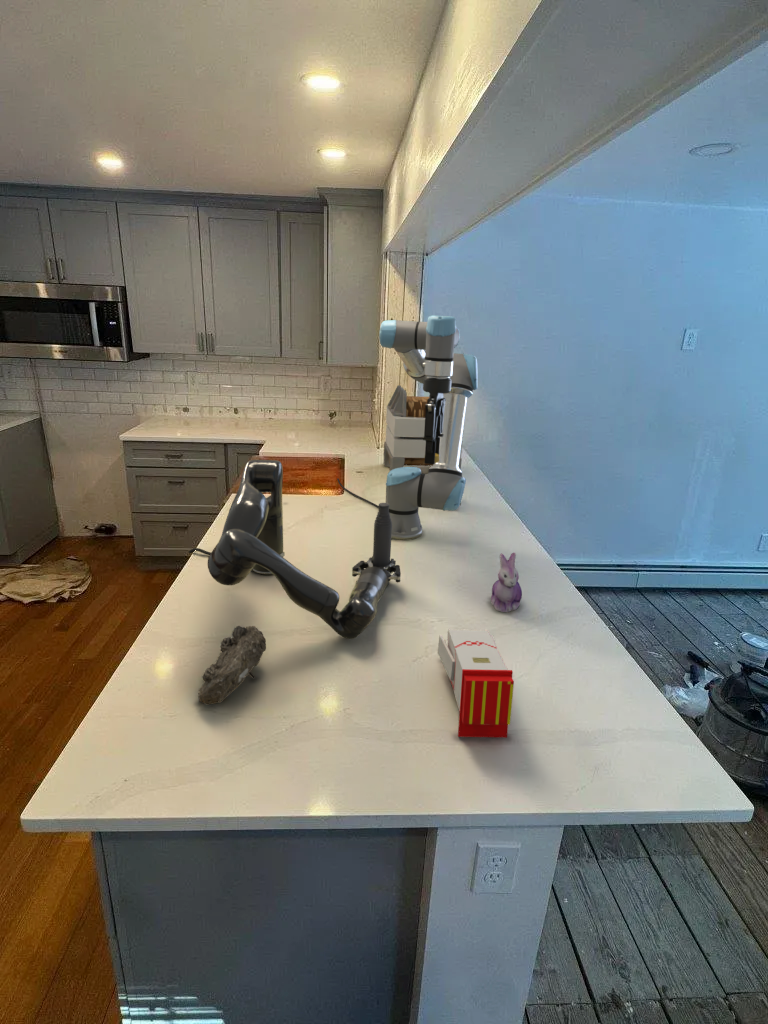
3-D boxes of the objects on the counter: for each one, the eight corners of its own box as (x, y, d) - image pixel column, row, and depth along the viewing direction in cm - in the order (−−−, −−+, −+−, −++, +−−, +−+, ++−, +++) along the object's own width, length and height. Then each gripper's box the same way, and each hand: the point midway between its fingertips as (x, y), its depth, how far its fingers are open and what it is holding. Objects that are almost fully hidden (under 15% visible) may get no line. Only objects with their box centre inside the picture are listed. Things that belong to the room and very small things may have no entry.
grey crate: (382, 463, 289) (386, 382, 275) (445, 464, 293) (451, 384, 279) (390, 482, 257) (394, 392, 243) (460, 483, 261) (468, 394, 247)
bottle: (369, 580, 165) (372, 502, 157) (384, 578, 167) (388, 500, 159) (375, 588, 161) (379, 508, 152) (391, 585, 163) (395, 506, 154)
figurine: (503, 617, 148) (510, 564, 143) (480, 599, 156) (486, 549, 151) (531, 609, 152) (539, 558, 147) (507, 593, 161) (513, 544, 156)
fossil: (217, 628, 129) (265, 598, 124) (246, 656, 132) (293, 628, 127) (177, 698, 110) (231, 666, 105) (211, 729, 113) (266, 699, 108)
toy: (488, 613, 130) (523, 677, 101) (484, 667, 133) (517, 744, 104) (435, 612, 130) (455, 676, 101) (432, 666, 133) (451, 743, 103)
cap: (436, 463, 157) (436, 457, 156) (422, 461, 158) (422, 455, 158) (441, 460, 161) (441, 453, 160) (427, 458, 162) (427, 451, 161)
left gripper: (343, 595, 151) (358, 568, 167) (396, 602, 148) (406, 575, 164) (344, 570, 148) (359, 545, 164) (397, 577, 146) (408, 551, 162)
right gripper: (432, 372, 160) (426, 453, 168) (415, 379, 145) (410, 467, 153) (458, 374, 158) (451, 456, 166) (443, 381, 143) (437, 470, 151)
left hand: (383, 560), depth 164 cm, fingers closed on bottle, 5 cm apart
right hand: (431, 461), depth 160 cm, fingers closed on cap, 4 cm apart
